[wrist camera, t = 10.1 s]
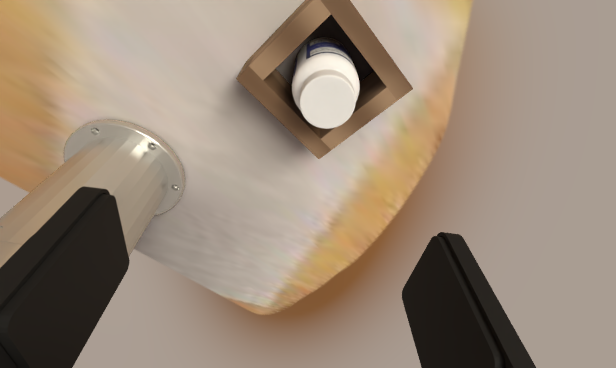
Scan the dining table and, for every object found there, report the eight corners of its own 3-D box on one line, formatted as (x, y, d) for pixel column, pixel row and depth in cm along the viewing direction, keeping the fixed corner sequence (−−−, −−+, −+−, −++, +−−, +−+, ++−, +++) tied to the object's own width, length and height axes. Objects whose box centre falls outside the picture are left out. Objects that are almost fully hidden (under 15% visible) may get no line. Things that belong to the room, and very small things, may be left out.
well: (318, 134, 33) (318, 159, 29) (246, 61, 29) (236, 79, 25) (399, 69, 29) (413, 88, 25) (330, -26, 25) (334, -22, 21)
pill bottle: (327, 104, 32) (331, 150, 24) (283, 72, 30) (274, 110, 23) (364, 61, 29) (380, 97, 22) (319, 22, 27) (321, 48, 20)
